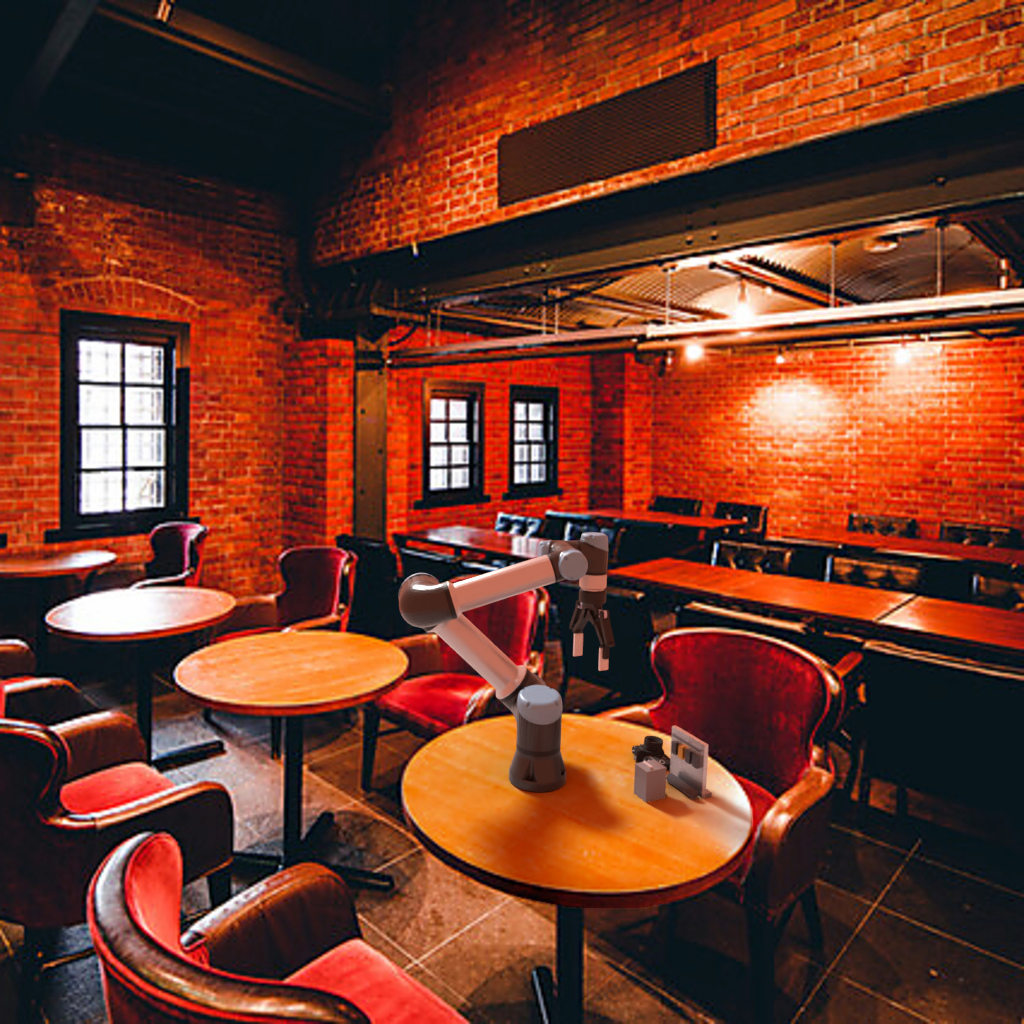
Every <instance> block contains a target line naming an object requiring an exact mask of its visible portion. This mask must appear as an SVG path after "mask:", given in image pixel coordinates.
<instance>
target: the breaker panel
mask: <svg viewBox="0 0 1024 1024" xmlns="http://www.w3.org/2000/svg"><path fill="white" fill-rule="evenodd" d="M669 758H670V770H669V773H672V774H674V775H675V776H677V777H678V778H680V779H681V780H683V781H684V782H686V783H687V784H688V785H690V786H691V787H693V788H694V789H696V790H697V791H698V797H699V798H700V799H705V798H709V797H712V796H713V792H712V791H710V790H709V789H707V780H708V779H707V777H708V762H709V761H708V760H709V744H708V743H706V742H705V741H703V740H701V739H699V738H698V737H696V736H695V735H693V734H691V733H690V732H688V731H686V730H685V729H684V728H681V727H680V726H677V725H672V726H671V742H670V756H669Z"/></svg>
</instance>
